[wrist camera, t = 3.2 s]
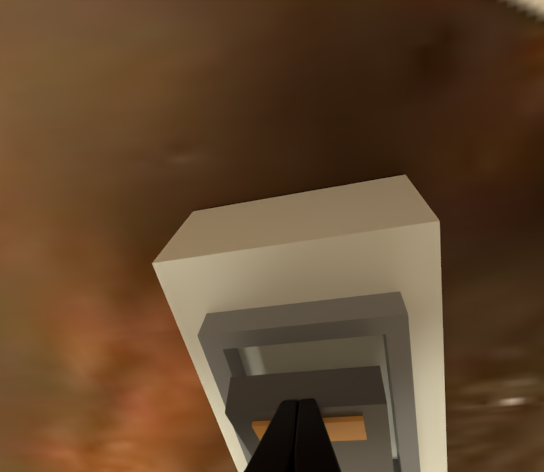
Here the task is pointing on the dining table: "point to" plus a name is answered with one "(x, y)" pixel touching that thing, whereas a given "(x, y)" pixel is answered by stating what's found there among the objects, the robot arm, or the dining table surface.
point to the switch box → (318, 301)
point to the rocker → (321, 411)
